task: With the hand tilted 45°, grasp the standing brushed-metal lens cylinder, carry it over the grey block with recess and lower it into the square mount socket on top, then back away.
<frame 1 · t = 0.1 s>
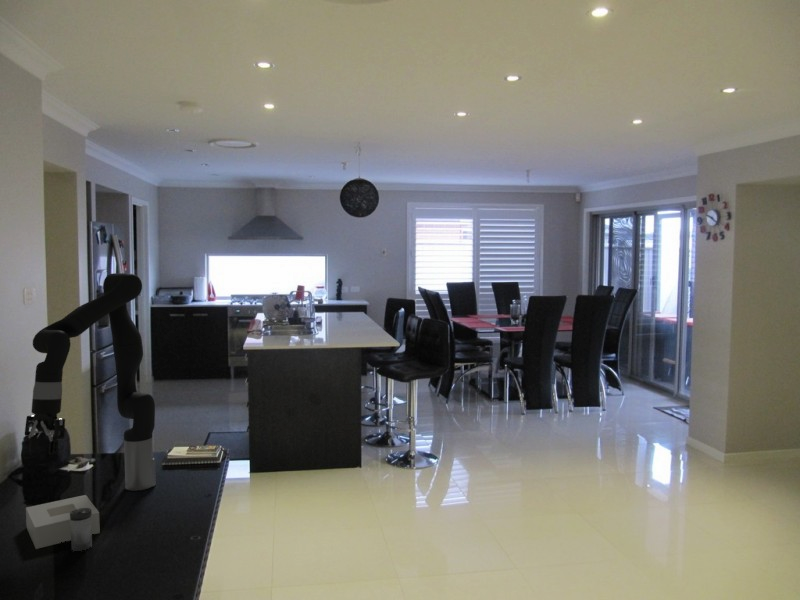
hand: (42, 452, 179), 22 cm above the counter, tool pointing down, fingers open, 8 cm apart
grey block with recess: (62, 530, 177), on the counter
lens: (81, 547, 166), on the counter
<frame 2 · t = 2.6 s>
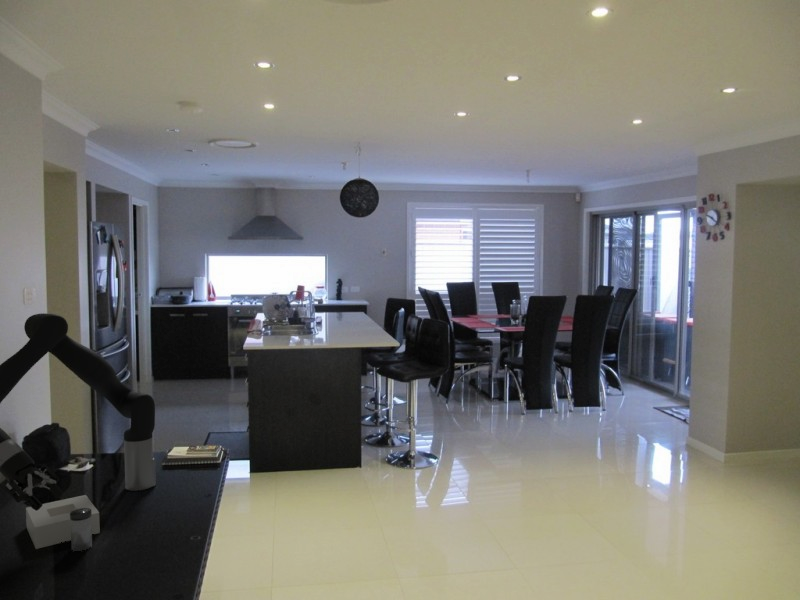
hand: (50, 502, 167), 12 cm above the counter, tool tilted 45°, fingers open, 8 cm apart
nothing on the counter moved.
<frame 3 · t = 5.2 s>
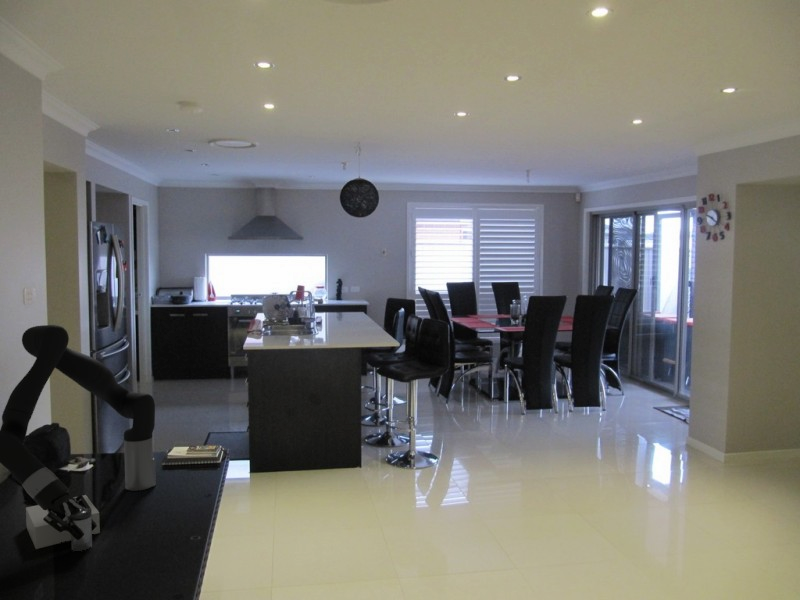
hand: (87, 532, 166), 4 cm above the counter, tool tilted 45°, fingers closed on lens, 5 cm apart
lens: (81, 547, 166), on the counter, touching gripper
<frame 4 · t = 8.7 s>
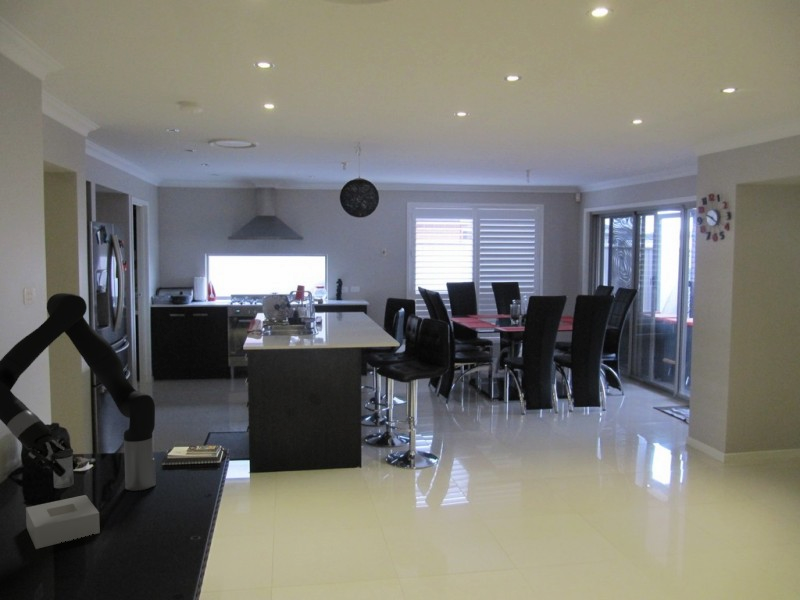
hand: (69, 470, 175), 18 cm above the counter, tool tilted 45°, fingers closed on lens, 5 cm apart
lens: (63, 485, 176), point 14 cm above the counter, touching gripper
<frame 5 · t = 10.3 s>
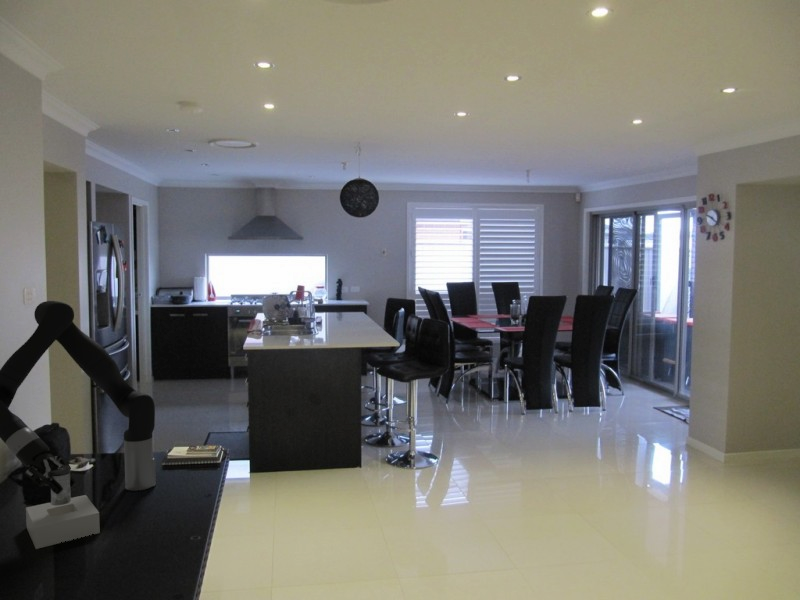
hand: (66, 488, 177), 13 cm above the counter, tool tilted 45°, fingers closed on lens, 5 cm apart
lens: (61, 502, 177), point 8 cm above the counter, touching gripper
when the fingers open (8 cm above the counter, at t = 11.8 s): lens drops 2 cm, resting on grey block with recess.
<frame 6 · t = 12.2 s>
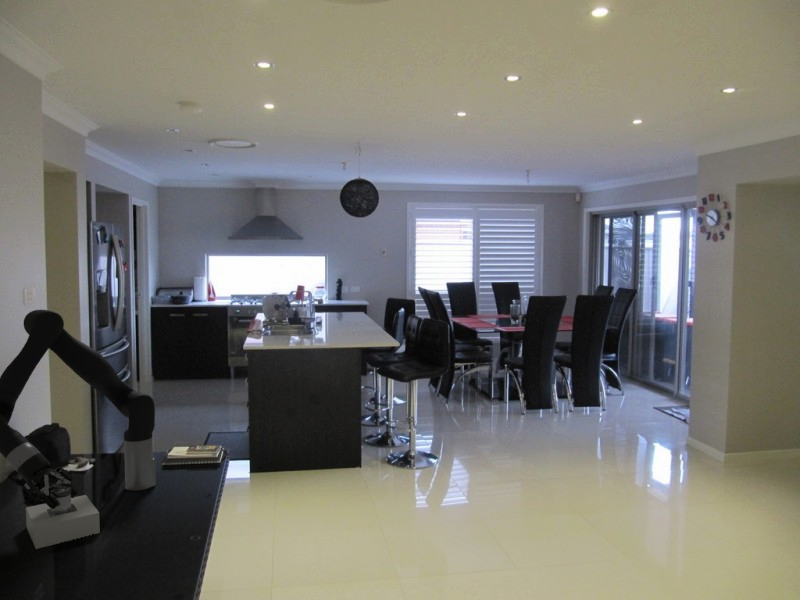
hand: (66, 501, 177), 9 cm above the counter, tool tilted 45°, fingers open, 8 cm apart
lens: (61, 523, 177), point 2 cm above the counter, touching grey block with recess
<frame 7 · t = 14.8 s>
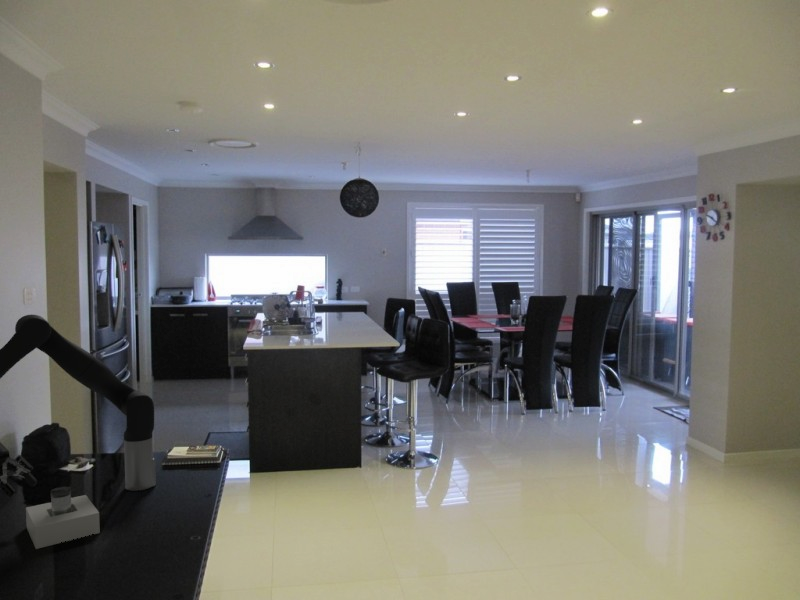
hand: (24, 489, 178), 12 cm above the counter, tool tilted 45°, fingers open, 8 cm apart
nothing on the counter moved.
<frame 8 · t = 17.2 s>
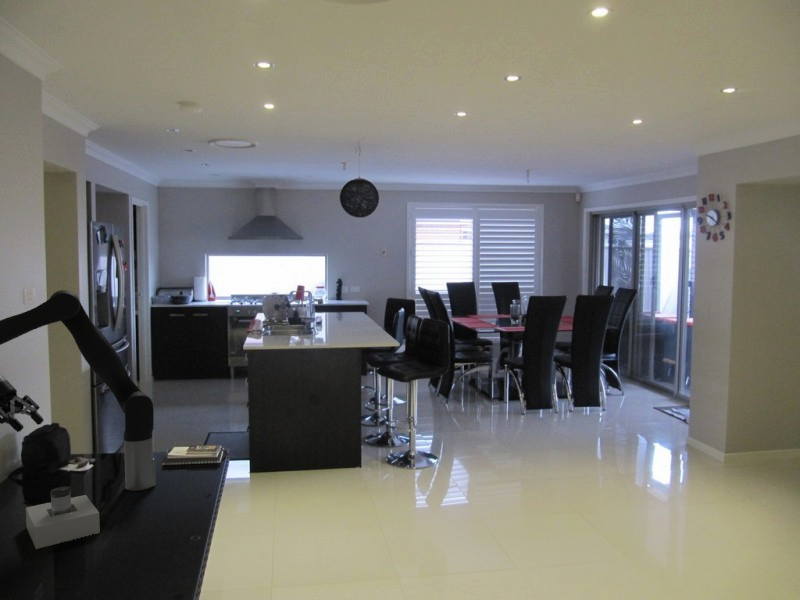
hand: (31, 426, 185), 29 cm above the counter, tool tilted 45°, fingers open, 8 cm apart
nothing on the counter moved.
at the end: lens 0.2 cm off-centre on the grey block with recess, point 2.0 cm above the grey block with recess's base; lens tilted 1°; the gripper is holding nothing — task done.
